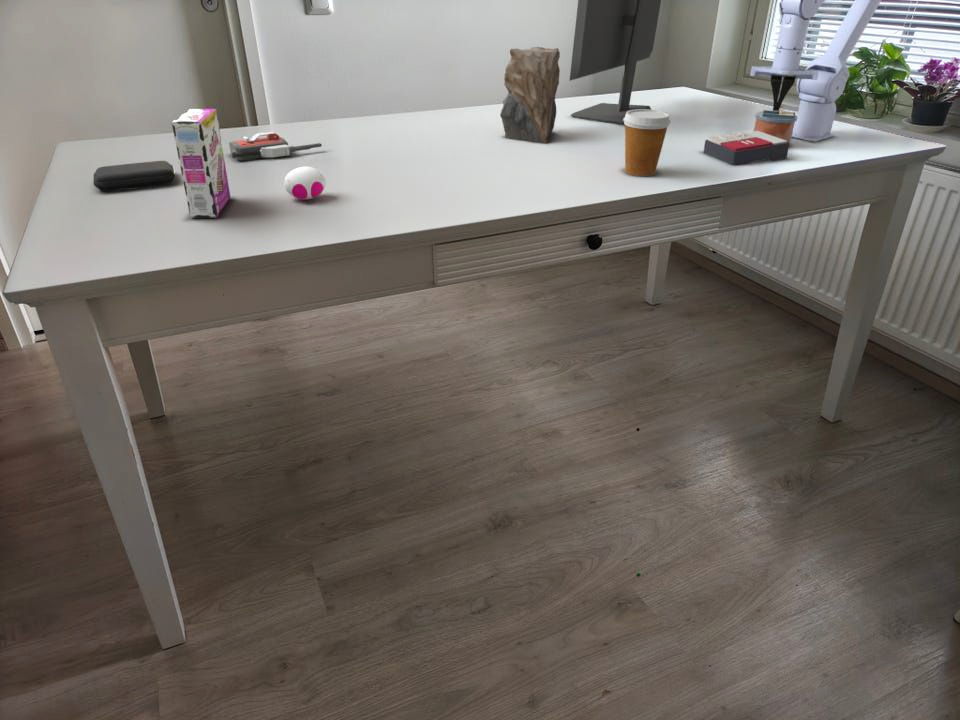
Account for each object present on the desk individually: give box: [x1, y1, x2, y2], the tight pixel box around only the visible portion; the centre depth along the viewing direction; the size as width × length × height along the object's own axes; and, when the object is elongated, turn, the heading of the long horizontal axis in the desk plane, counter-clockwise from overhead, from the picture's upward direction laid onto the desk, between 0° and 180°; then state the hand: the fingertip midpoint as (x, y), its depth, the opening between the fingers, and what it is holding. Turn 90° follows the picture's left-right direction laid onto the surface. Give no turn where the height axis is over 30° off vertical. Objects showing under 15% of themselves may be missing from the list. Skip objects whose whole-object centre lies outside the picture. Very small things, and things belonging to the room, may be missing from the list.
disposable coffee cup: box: [623, 109, 671, 177], centre depth 146 cm, size 10×10×12 cm
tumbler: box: [753, 109, 797, 146], centre depth 169 cm, size 9×9×7 cm
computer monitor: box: [569, 0, 662, 126], centre depth 185 cm, size 44×16×40 cm, turn 144°
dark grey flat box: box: [703, 130, 791, 166], centre depth 160 cm, size 11×4×15 cm
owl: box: [499, 46, 561, 144], centre depth 170 cm, size 13×13×20 cm
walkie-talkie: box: [228, 131, 322, 162], centre depth 157 cm, size 9×4×20 cm
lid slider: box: [779, 105, 795, 116], centre depth 166 cm, size 3×3×2 cm
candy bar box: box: [171, 108, 231, 219], centre depth 123 cm, size 11×5×16 cm, turn 5°
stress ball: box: [283, 166, 327, 203], centre depth 131 cm, size 8×8×7 cm
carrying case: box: [93, 160, 177, 192], centre depth 139 cm, size 11×3×15 cm
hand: (775, 110), depth 166 cm, fingers closed
